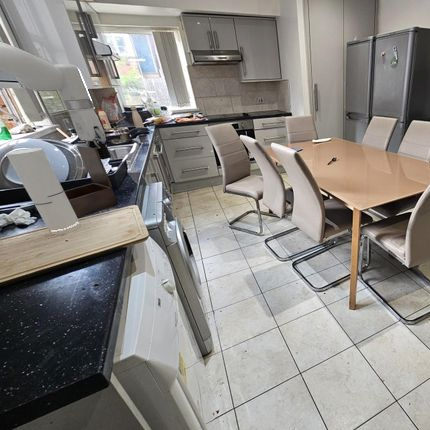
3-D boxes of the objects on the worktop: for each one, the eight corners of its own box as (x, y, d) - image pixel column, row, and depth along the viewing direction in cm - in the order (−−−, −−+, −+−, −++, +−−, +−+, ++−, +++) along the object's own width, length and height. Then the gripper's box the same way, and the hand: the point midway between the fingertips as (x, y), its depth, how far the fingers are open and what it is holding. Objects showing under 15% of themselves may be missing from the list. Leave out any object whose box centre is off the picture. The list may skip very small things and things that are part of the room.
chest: (77, 218, 92) (68, 200, 89) (60, 211, 98) (51, 194, 95) (118, 204, 102) (111, 187, 99) (100, 198, 108) (93, 182, 105)
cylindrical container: (85, 229, 85) (46, 149, 74) (57, 239, 79) (9, 155, 68) (76, 223, 88) (37, 147, 77) (48, 233, 83) (2, 152, 72)
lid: (94, 148, 92) (109, 145, 96) (76, 145, 98) (91, 143, 102) (110, 186, 99) (123, 182, 102) (92, 182, 105) (105, 178, 108)
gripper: (55, 106, 93) (79, 158, 101) (78, 107, 85) (102, 163, 94) (80, 104, 99) (101, 153, 107) (104, 104, 91) (125, 157, 100)
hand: (102, 157), depth 100 cm, fingers closed on lid, 5 cm apart
